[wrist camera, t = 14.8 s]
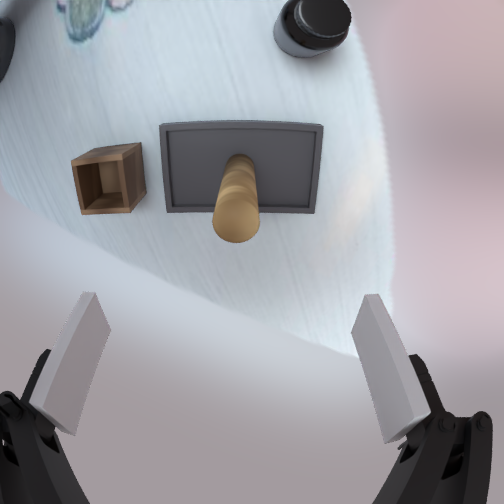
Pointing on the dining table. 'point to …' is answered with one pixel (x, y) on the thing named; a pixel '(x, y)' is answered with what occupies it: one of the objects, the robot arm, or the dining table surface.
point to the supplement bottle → (311, 26)
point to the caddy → (109, 179)
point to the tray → (251, 144)
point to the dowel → (237, 201)
